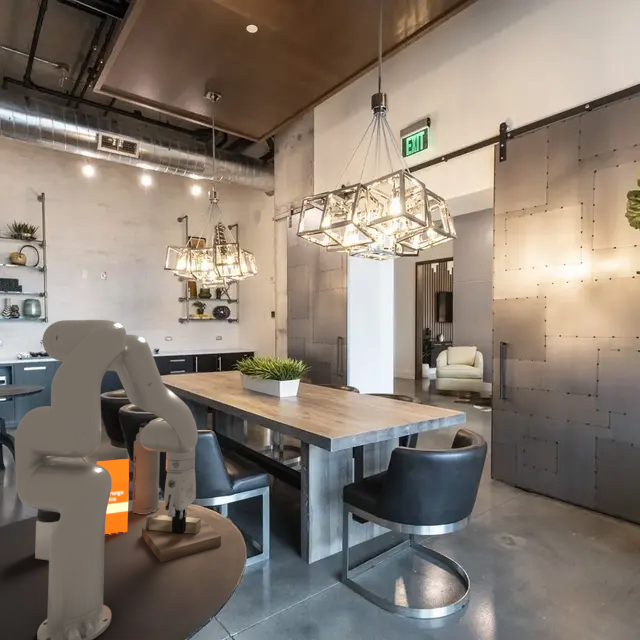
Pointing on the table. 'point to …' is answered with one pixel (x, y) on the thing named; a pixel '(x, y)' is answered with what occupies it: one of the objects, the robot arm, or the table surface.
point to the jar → (45, 532)
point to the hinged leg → (166, 523)
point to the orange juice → (117, 495)
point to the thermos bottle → (145, 477)
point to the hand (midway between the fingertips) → (178, 532)
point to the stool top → (180, 541)
